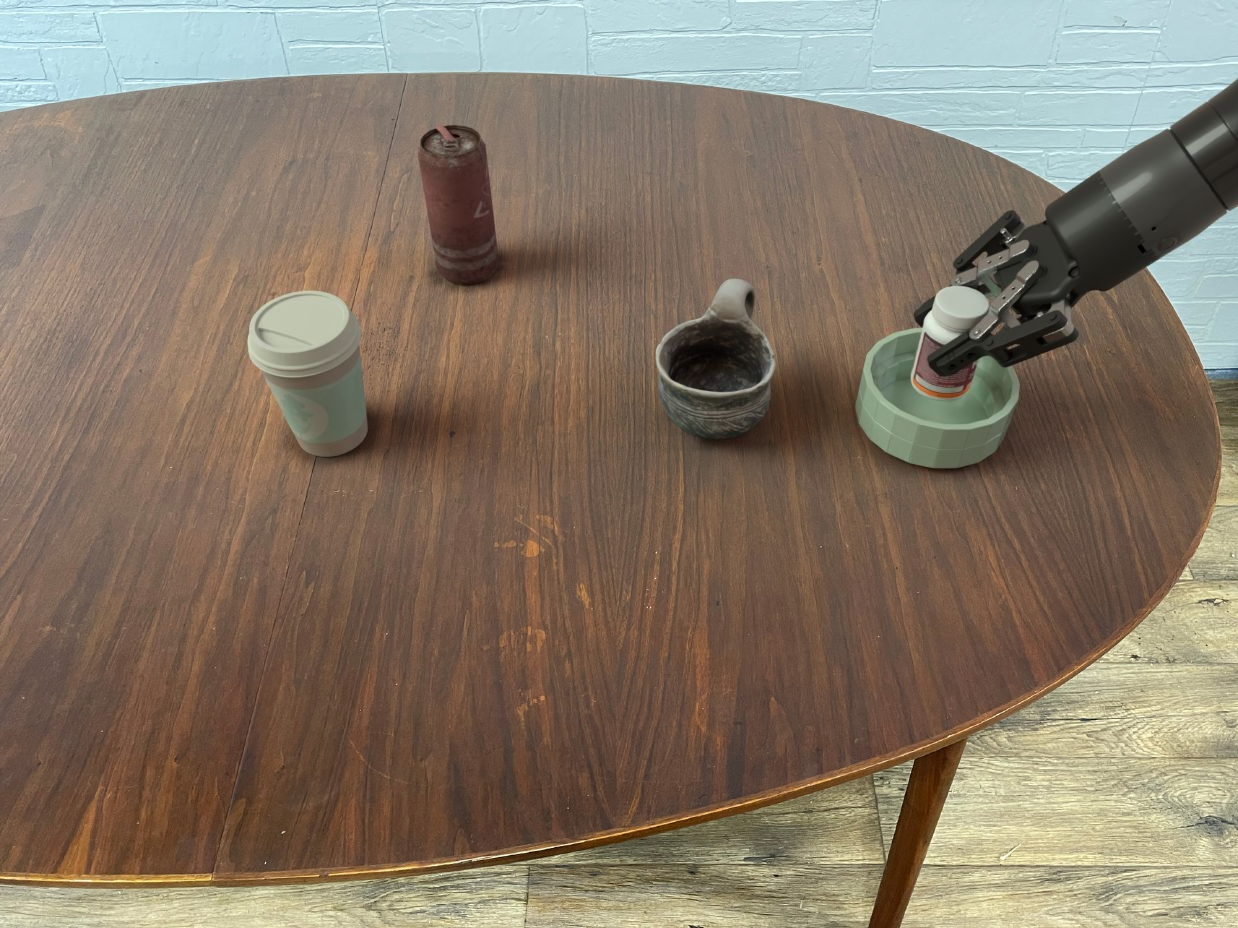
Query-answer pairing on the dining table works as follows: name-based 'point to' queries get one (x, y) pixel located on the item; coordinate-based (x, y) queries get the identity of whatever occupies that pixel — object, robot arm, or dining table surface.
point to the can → (459, 203)
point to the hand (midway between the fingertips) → (927, 345)
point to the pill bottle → (941, 325)
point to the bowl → (932, 408)
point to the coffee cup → (313, 368)
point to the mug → (717, 367)
